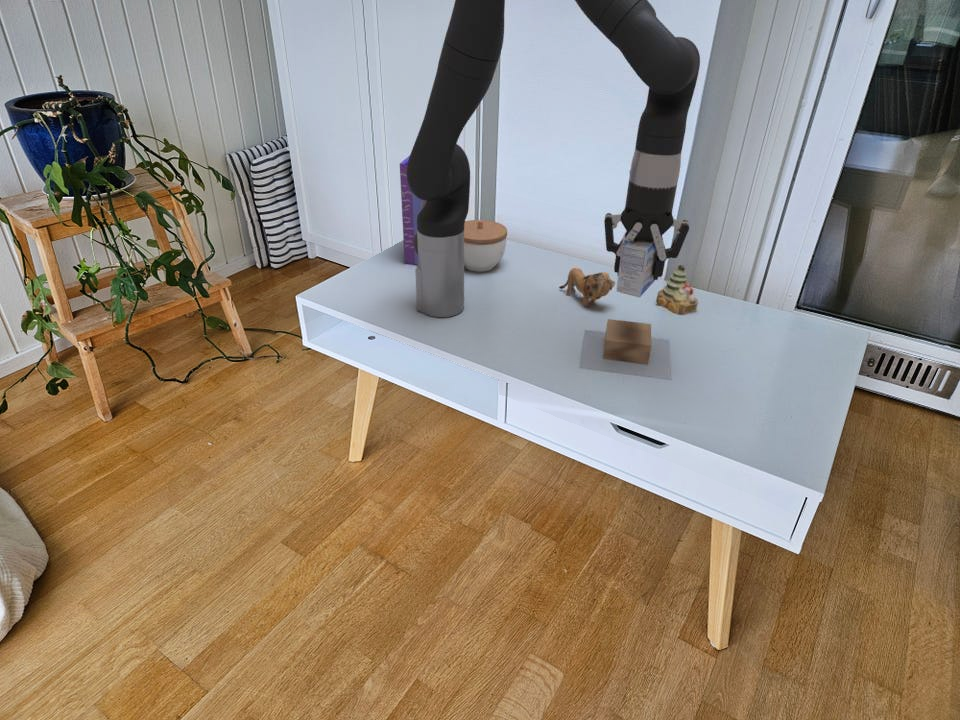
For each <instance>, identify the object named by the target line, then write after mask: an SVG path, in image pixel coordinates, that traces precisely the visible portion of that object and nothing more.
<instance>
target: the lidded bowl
mask: <svg viewBox="0 0 960 720" xmlns="http://www.w3.org/2000/svg"><path fill="white" fill-rule="evenodd" d="M507 236H508V228H507V227H506V225H504V224H503V223H500V222H496V221H494V220H488V219H486V220H485V219H472V220H471V219H470V220H465V223H464V268H466V269H467V270H468V271H471V272H480V273H481V272H482V273H483V272H488V271H491V270H492V269H494V268H495V267H496V265H498V264H499V262H500V261H501V260H502V258H503V256H504V253H505V251H506V247H507Z"/></svg>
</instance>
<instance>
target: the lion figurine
mask: <svg viewBox="0 0 960 720" xmlns="http://www.w3.org/2000/svg"><path fill="white" fill-rule="evenodd" d="M615 285H616V281H614V280H613V279H611V278H610V274H609V273H608V272H603V271H601V272H597V273H594V274H588V275H585V273H584V272H583V270H582V269H581V268H578V267H573V268H571V269H570V270H569V272H568V275H567V280H566V282H565V283H564V284H563V285H561V286H559V287H558V288H559V289H561V290H564V289H565V288H566V287H567V289H566V295H565V296H567V297H571V293H576V290H577V291H578V292H579V293H581V294H582V298H583V299H582V302H583V304H582V307H585V308H587V307H588V306H589V305H588V304H589V301H590V304H591V305H592V304H594V303H595V302H596V301H597V300H600V299H602V298H603V297H605V296H607V295H608V294H609V292H611V291H612V290H613V288H614V287H615ZM575 288H576V289H575Z"/></svg>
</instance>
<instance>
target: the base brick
mask: <svg viewBox="0 0 960 720" xmlns="http://www.w3.org/2000/svg"><path fill="white" fill-rule="evenodd" d="M605 327H606V328H605V332H606V334H605V343H604V353H603V359H607V360H615V361H623V362H631V363H639V364H647V365H648V362H649V356H650V351H651V346H652V344H651V338H652V323H645V322H638V321H636V322H635V321H628V320H621V319H620V320H619V319H611V318H607V321H606V326H605Z"/></svg>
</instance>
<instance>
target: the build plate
mask: <svg viewBox="0 0 960 720" xmlns="http://www.w3.org/2000/svg"><path fill="white" fill-rule="evenodd" d="M605 334H606V331H598V330H592V329H584V334H583V339H582V346H581V351H580V352H581V353H580V359H579V365H578V368H579V369H584V370H591V371H597V372H598V371H599V372H608V373H613V374H614V373H615V374H623V375H630V376H638V377H639V376H640V377H646V378H654V379H661V380H668V381H672V380H673V379H672V364H671V351H670V339H668V338H667V339H666V338H658V337H657V338H656V337H651V344H652V346H651V351H650V356H649V362H648V365H647V364H639V363H631V362H623V361H615V360H607V359H603V353H604V343H605Z"/></svg>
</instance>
